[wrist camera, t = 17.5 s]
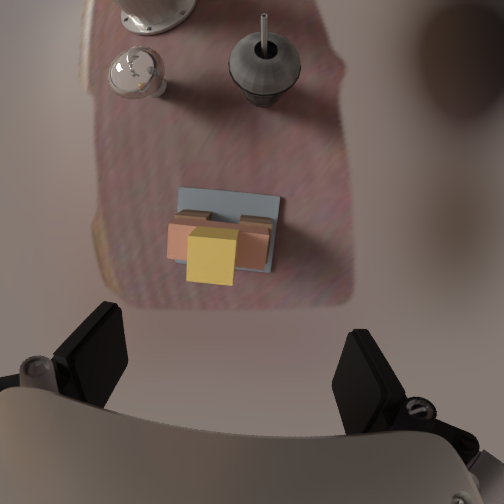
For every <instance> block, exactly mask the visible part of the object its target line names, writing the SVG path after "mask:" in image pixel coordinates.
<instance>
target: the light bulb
mask: <svg viewBox="0 0 504 504" xmlns="http://www.w3.org/2000/svg"><path fill="white" fill-rule="evenodd" d="M164 75H165V64H164V61H163V59H162V57H161V56H160V54H159V53H157V52H156V51H155V50H153V49H151V48H149V47H144V46H137V47H132V48H129V49H126V50H124V51H123V52H121V53H120V54H119V55H118V56H117V57H116V58H115V59H114V60H113V62H112V64H111V66H110V68H109V72H108V81H109V84H110V87H111V88H112V90H113V91H114V92H115V93H116V94H117V95H118V96H120V97H122V98H125V99H129V100H136V99H141V98H144V97H147V96H149V97H158V96H160V95H162V94H163V93H164V91H165V89H166V85H167V84H166V81H165V79H164Z"/></svg>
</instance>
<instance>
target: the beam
mask: <svg viewBox="0 0 504 504" xmlns="http://www.w3.org/2000/svg"><path fill="white" fill-rule="evenodd" d="M197 226H202V227H213V228H224V229H235V230H239V234H238V246H237V258H236V267H240V268H248V269H257V270H264V268H265V261H266V254H267V247H268V240H269V232H268V228H266V227H258V226H250V225H242V224H234V223H225V222H217V221H208V220H199V219H190V218H181V217H178V218H176V219H175V220H173V221H172V222H170V223H169V227H168V247H167V258H170V259H178V260H185V261H187V245H188V235H189V234H190V233H191V232H192V231H193V230H194V229H195V228H196V227H197Z"/></svg>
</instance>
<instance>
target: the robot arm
mask: <svg viewBox="0 0 504 504" xmlns="http://www.w3.org/2000/svg"><path fill="white" fill-rule="evenodd" d="M113 1H114V2H115V3H116V4H117V5H118V6H119V7H120V8H121V9H122V12H121V20H122V23H123V25H124V26H125V28H126V29H128V30H129V31H130V32H132V33H134V34H137V35H154V34H159V33H162V32H165V31H167V30H169V29H172V28H174V27H175V26H177V25H178V24H180V23H181V22H182V21H184V20H185V19H186V18H187V17H188V16H189V15H190V14H191V12H192V11H193V9H194V7H195V5H196V2H197V0H113ZM53 355H54V357H53V358H52V359H51V360H50V359H49V358H47V357H45V356H41V355H40V356H32V357H29V358H27V359H26V360H25V361H23V362H22V364H21V365H20V370H19V372H20V374H15V375H10V376H5V377H0V504H504V463H502V462H501V461H500V460H498V459H497V458H495V457H494V456H493V455H491V454H490V453H488V452H487V451H486V450H482V451H479V442H478V440H477V439H476V437H475V436H474V435H473V434H471V433H469V432H466V431H464V430H461V429H459V428H457V427H454V426H451V425H449V424H447V423H445V422H442V421H440V420H438V419H436V416H437V411H436V408H435V406H434V405H433V404H432V403H431V402H430V401H429V400H427V399H425V398H422V397H410V398H407V397H406V395H405V390H404V388H403V387H402V385H401V383H400V382H399V380H398V378H397V377H396V375H395V373H394V371H393V370H392V368H391V366H390V365H389V363H388V361H387V360H386V358H385V357H384V355H383V353H382V352H381V350H380V348H379V347H378V345H377V344H376V342H375V340H374V339H373V337H372V336H371V334H370V333H369V331H368V330H367V329H354V330H353V331H352V332H349V333H348V336H347V339H346V342H345V345H344V348H343V351H342V354H341V357H340V360H339V364H338V366H337V369H336V372H335V375H334V378H333V381H332V390H333V393H334V396H335V399H336V403H337V406H338V409H339V413H340V416H341V419H342V422H343V426H344V429H345V433H346V435H338V436H337V435H335V436H314V437H313V436H311V437H280V436H255V435H242V434H231V433H221V432H212V431H205V430H198V429H192V428H185V427H180V426H174V425H169V424H164V423H159V422H154V421H150V420H145V419H141V418H137V417H133V416H129V415H125V414H122V413H118V412H115V411H111V410H108V409H104V406H105V404H106V403H107V401H108V399H109V397H110V395H111V394H112V392H113V390H114V388H115V386H116V384H117V383H118V381H119V379H120V377H121V376H122V374H123V372H124V370H125V369H126V367H127V364H128V354H127V348H126V341H125V334H124V326H123V318H122V310H121V308H120V307H118V305H117V304H116V303H112V302H107V301H104V302H102V303H101V304H100V305H99V306H98V307H97V308H96V309H95V310H94V311H93V312H92V313H91V314H90V315H89V316H88V317H87V318H86V319H85V320H84V321H83V322H82V323H81V325H80V326H79V327H78V328H77V329H76V330H75V331H74V332H73V333H72V334H71V335H70V336H69V337H68V338H67V339H66V340H65V341H64V342H63V343H62V345H61V346H60V347H59V348H58V349H57V350H56V351H55V352H54V353H53Z"/></svg>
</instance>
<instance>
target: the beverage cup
mask: <svg viewBox="0 0 504 504" xmlns="http://www.w3.org/2000/svg"><path fill="white" fill-rule="evenodd" d="M267 16H268V15H267V14H265V13H263V14H261V32H255V33H252V34H249V35H247V36H246V37H244V38H243V39H241V40H240V41H239V42H238V43H237V44H236V46H235V47H234V48H233V50H232V53H231V56H230V59H229V63H228V64H229V73H230V75H231V77H232V79H233V81H234V82H235V83H236V84H237V85H238V86H239V87H240V88H241V89H242V90H243V92H244V94H245V96H246V98H247V99H248V101H249V102H250V103H251V104H253V105H255V106H257V107H268V106H270V105H272V104H273V103H275V102H276V101H277V100H278V98H279V97H280V96H281V95H282V93H283V92H285V91H287V90H288V89H289V88H291V87H292V86H293V85H294V84H295V82H296V81H297V79H298V78H299V75H300V70H301V65H300V58H299V53H298V52H297V50H296V48H295V46H294V45H293V44H292V43H291V42H290V41H289V40H288V39H287V38H286V37H284V36H282V35H280V34H277V33H273V32H268V31H267Z"/></svg>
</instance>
